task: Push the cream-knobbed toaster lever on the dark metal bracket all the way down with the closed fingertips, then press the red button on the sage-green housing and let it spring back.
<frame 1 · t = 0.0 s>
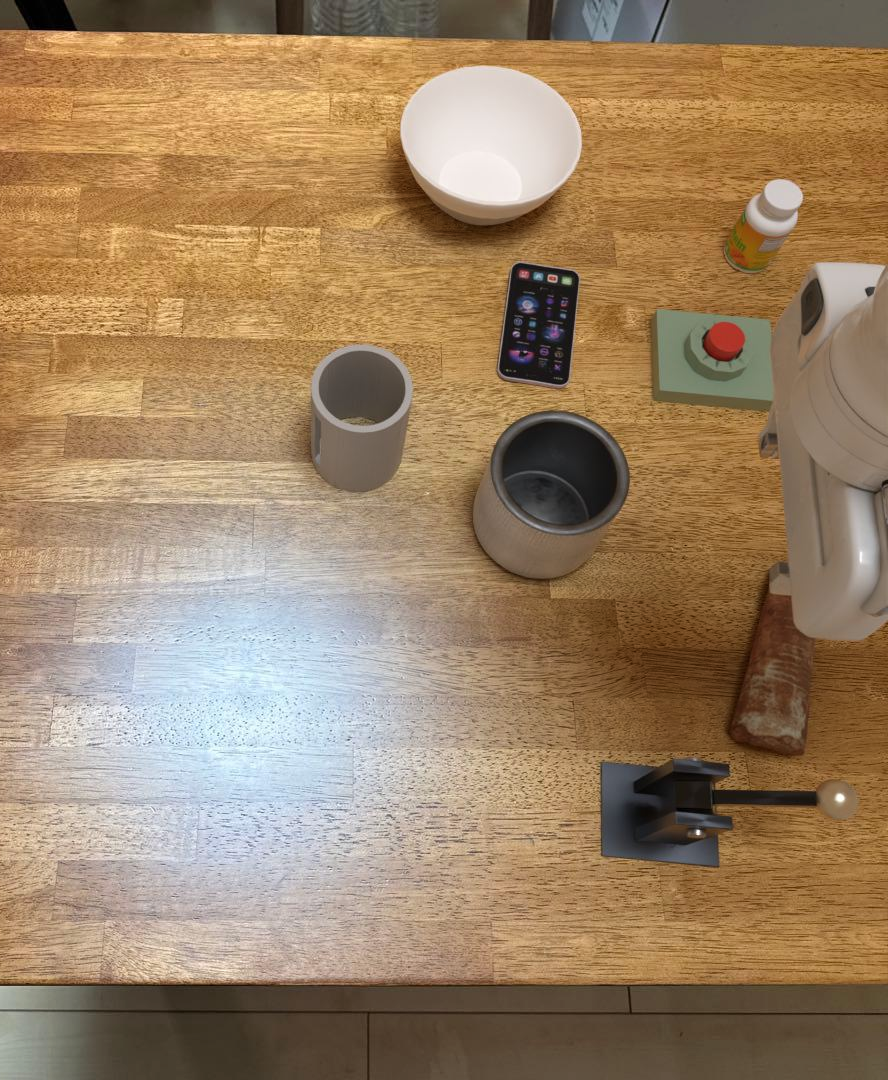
hand: (775, 514, 64), 32 cm above the table, tool pointing down, fingers open, 8 cm apart
bowl: (479, 189, 116), on the table
button box: (708, 365, 107), on the table
brown cured sausage: (764, 659, 95), on the table
supplement bottle: (745, 256, 113), on the table
lever: (764, 798, 78), point 12 cm above the table, hinge at 25.0°
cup: (356, 451, 102), on the table
toaster bracket: (655, 815, 89), on the table
button: (724, 341, 103), point 4 cm above the table, slide at 0.1 cm
planter: (534, 523, 100), on the table
smartphone: (538, 326, 109), on the table
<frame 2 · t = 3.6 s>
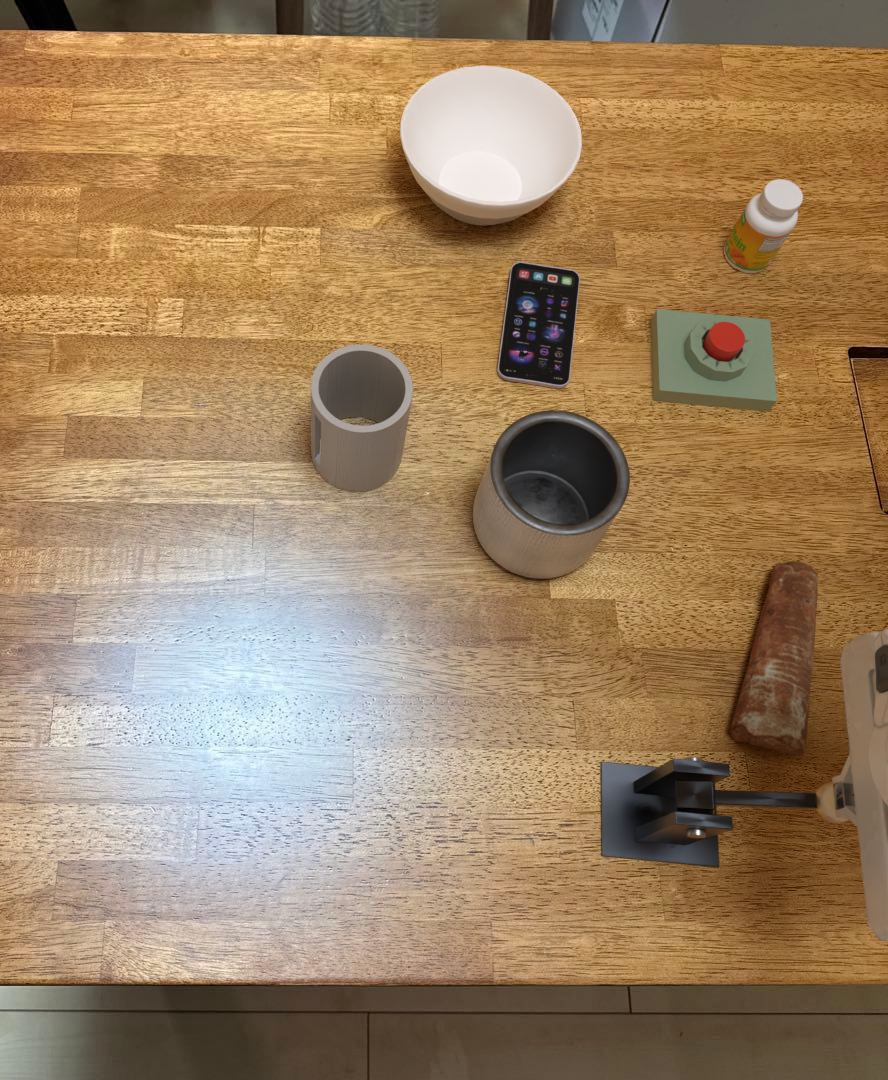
hand: (843, 799, 75), 15 cm above the table, tool pointing down, fingers closed
lever: (764, 799, 78), point 12 cm above the table, hinge at 19.2°
everything else where it was.
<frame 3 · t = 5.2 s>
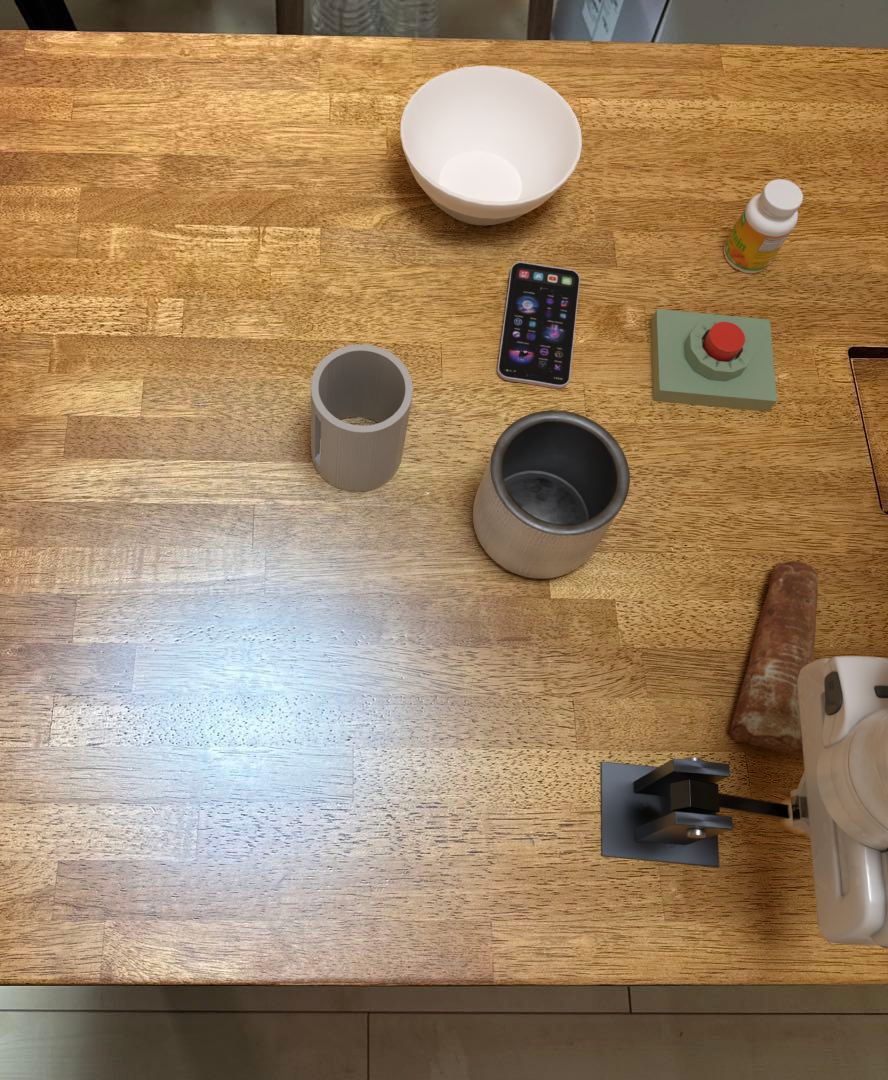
hand: (800, 811, 81), 8 cm above the table, tool pointing down, fingers closed, pressing on lever
lever: (747, 806, 81), point 8 cm above the table, hinge at -18.5°, touching gripper
everything else where it was.
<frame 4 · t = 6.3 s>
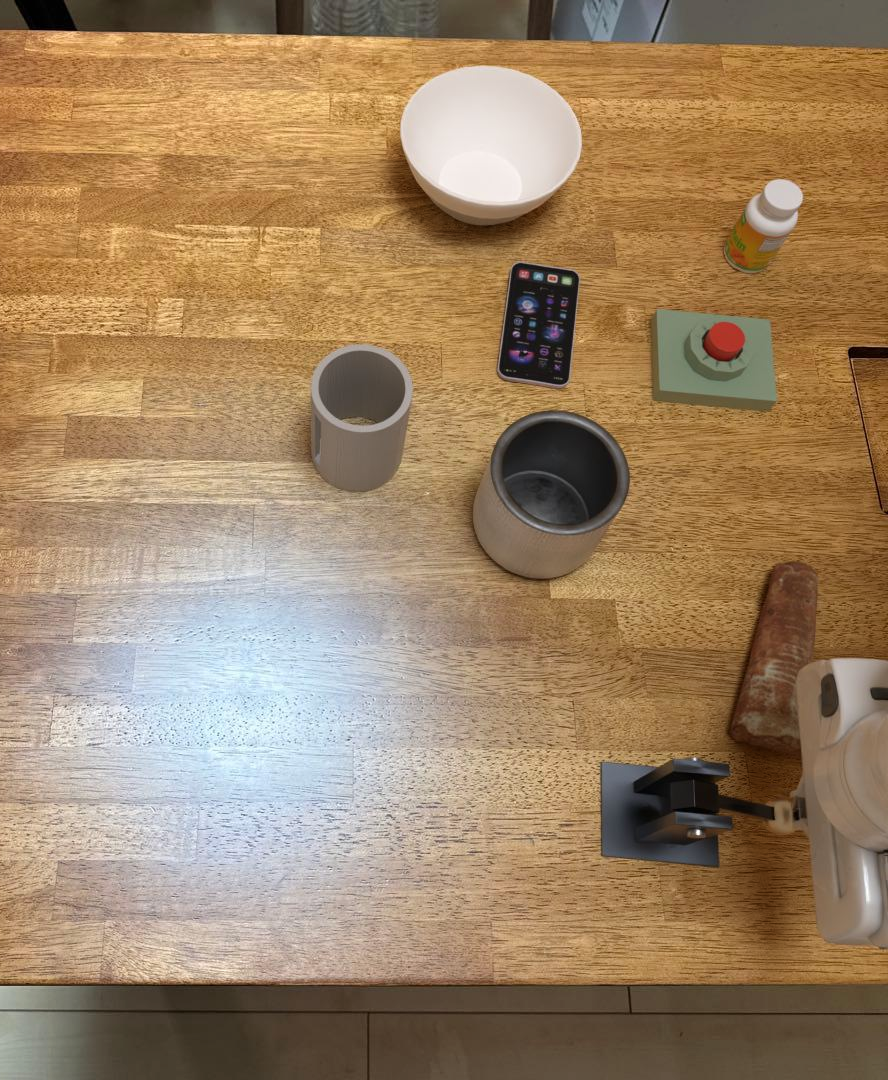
hand: (800, 811, 81), 8 cm above the table, tool pointing down, fingers closed
lever: (739, 807, 82), point 8 cm above the table, hinge at -28.6°
everything else where it was.
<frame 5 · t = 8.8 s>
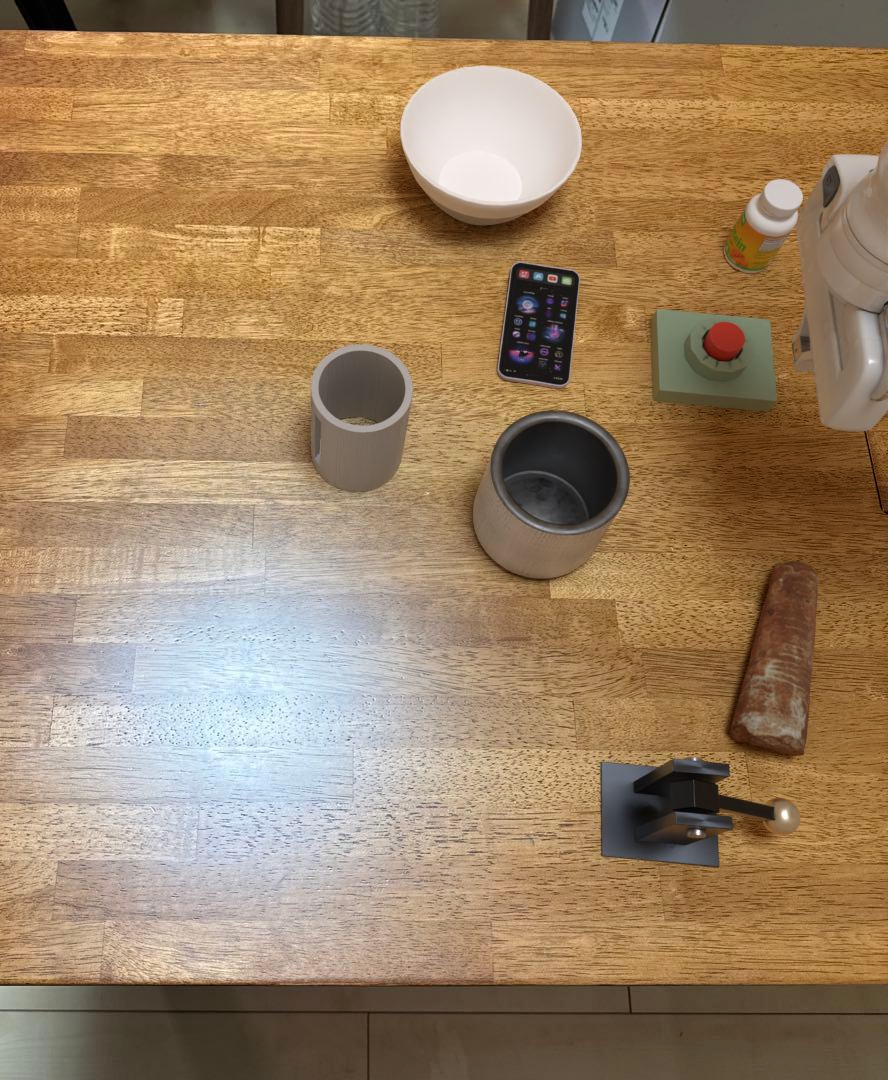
hand: (801, 357, 85), 19 cm above the table, tool pointing down, fingers closed
nothing on the table moved.
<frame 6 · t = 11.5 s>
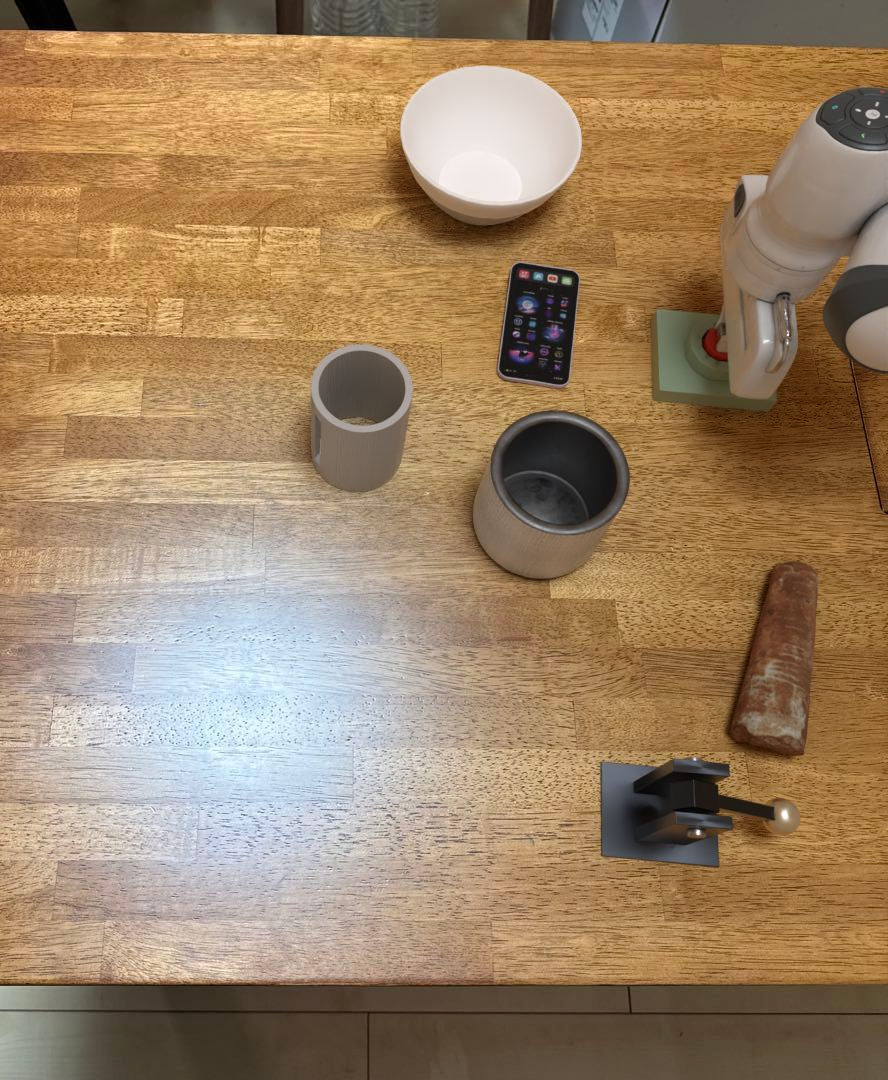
hand: (723, 340, 103), 5 cm above the table, tool pointing down, fingers closed, pressing on button
button: (721, 345, 104), point 4 cm above the table, slide at -0.7 cm, touching gripper
everything else where it was.
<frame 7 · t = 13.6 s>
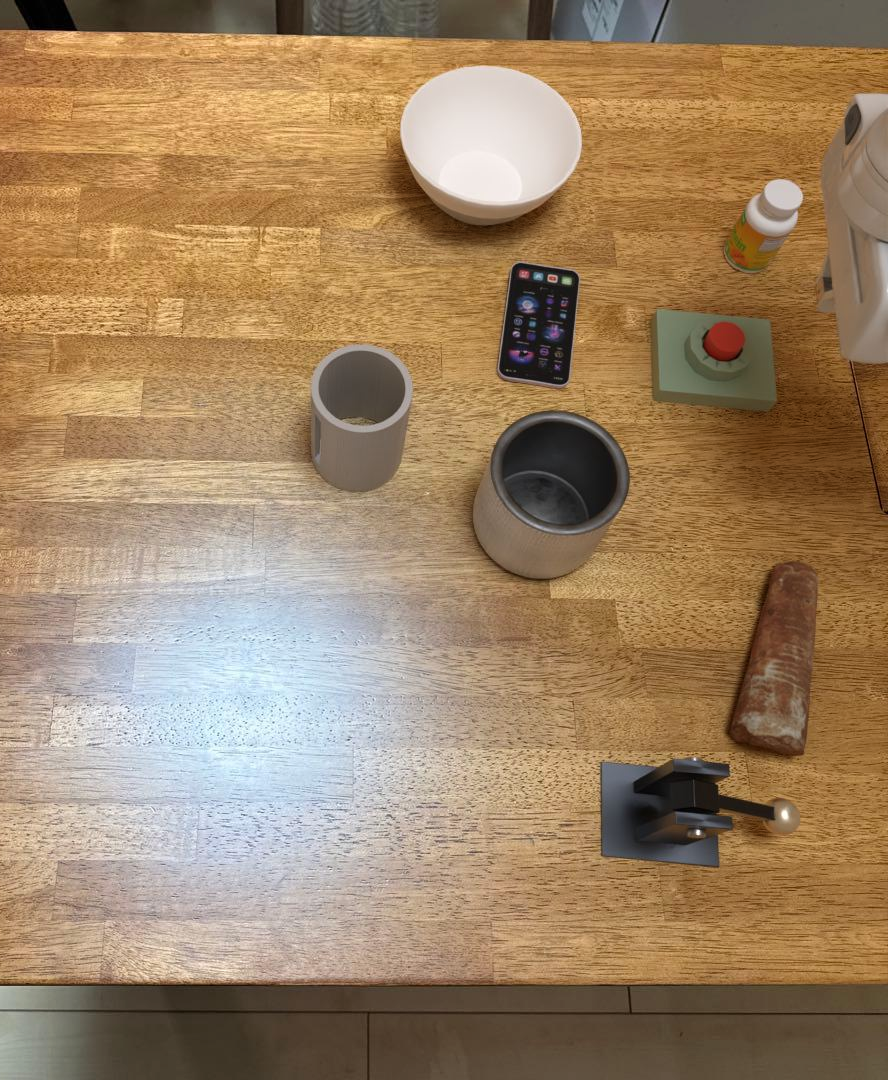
hand: (824, 299, 87), 20 cm above the table, tool pointing down, fingers closed
button: (724, 341, 103), point 4 cm above the table, slide at 0.1 cm
everything else where it was.
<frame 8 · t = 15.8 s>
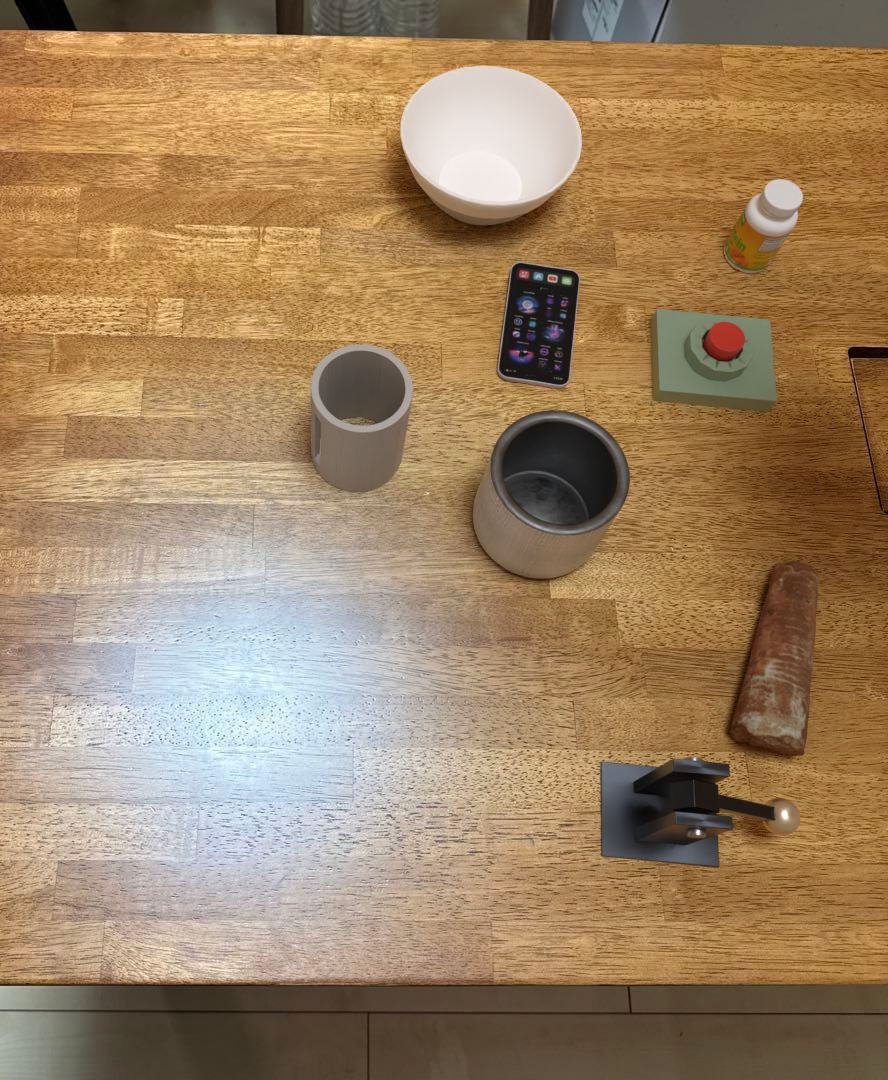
nothing on the table moved.
at the end: lever at -29° (first picture: +25°); button pushed in 1.1 cm at the most during the clip, back to where it started at the end; button slide at 0.1 cm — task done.
